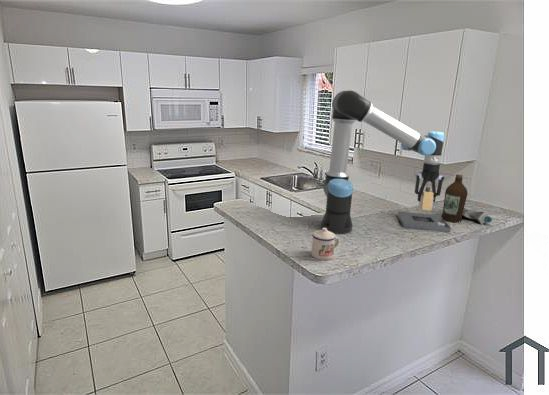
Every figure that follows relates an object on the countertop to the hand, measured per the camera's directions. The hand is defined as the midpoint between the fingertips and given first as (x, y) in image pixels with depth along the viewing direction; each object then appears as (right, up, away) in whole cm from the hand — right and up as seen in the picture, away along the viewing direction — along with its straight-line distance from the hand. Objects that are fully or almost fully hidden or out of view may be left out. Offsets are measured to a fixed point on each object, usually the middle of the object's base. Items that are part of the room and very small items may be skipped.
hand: (425, 207), depth 182 cm
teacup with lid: (-57, -18, -40) cm, 72 cm away
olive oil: (+19, -7, +11) cm, 23 cm away
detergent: (+29, -7, +13) cm, 33 cm away
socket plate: (-1, -8, +2) cm, 9 cm away
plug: (0, 0, 0) cm, 0 cm away
